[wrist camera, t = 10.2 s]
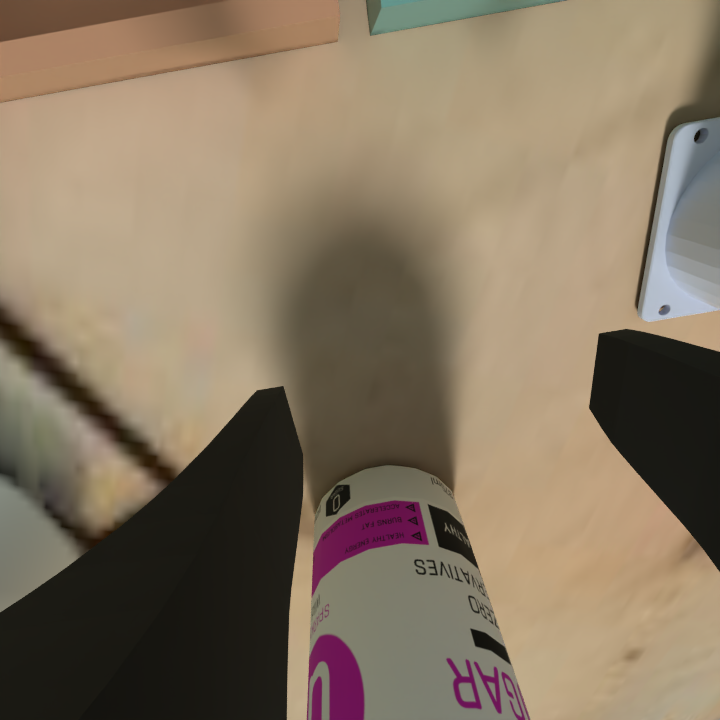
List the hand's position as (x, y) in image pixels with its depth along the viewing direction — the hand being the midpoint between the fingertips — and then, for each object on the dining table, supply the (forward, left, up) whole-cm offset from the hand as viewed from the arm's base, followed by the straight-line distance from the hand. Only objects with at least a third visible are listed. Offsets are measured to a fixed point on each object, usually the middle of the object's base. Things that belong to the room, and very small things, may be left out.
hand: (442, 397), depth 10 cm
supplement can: (+2, +14, -10) cm, 17 cm away
